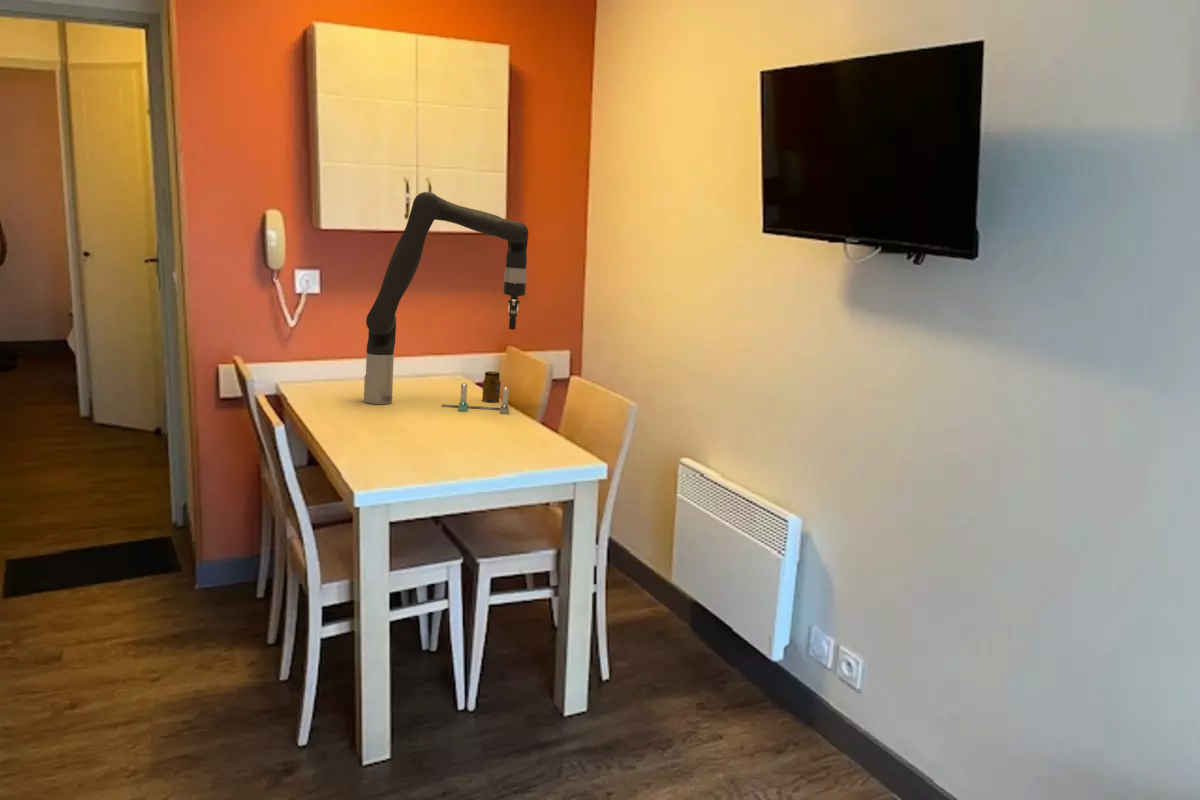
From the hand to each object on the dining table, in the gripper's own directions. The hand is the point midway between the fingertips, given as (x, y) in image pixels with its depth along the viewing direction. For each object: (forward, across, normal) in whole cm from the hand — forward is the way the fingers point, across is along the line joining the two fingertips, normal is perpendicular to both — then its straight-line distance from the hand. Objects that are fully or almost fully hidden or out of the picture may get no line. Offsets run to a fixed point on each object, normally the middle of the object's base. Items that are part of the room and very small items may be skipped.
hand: (512, 327), depth 325 cm
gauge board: (+29, +13, -11) cm, 34 cm away
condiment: (+30, -6, -6) cm, 31 cm away
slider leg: (+28, +12, -15) cm, 33 cm away
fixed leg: (+28, +12, -1) cm, 30 cm away
